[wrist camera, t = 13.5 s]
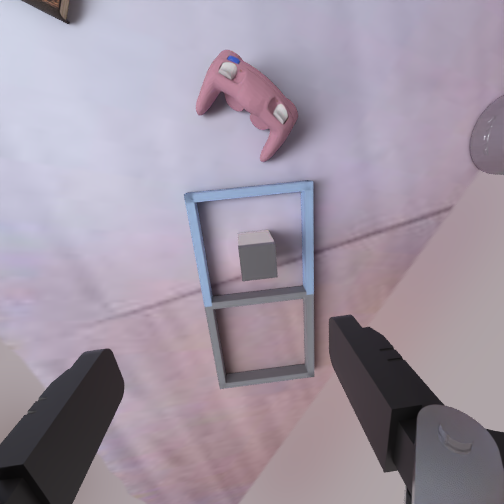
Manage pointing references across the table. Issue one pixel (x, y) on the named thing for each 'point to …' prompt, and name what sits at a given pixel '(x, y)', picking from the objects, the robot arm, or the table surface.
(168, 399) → the table surface
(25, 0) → the hardcover book
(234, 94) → the video game controller
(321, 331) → the table surface
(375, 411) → the robot arm
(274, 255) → the grey rectangular block
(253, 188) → the two-cell open frame
